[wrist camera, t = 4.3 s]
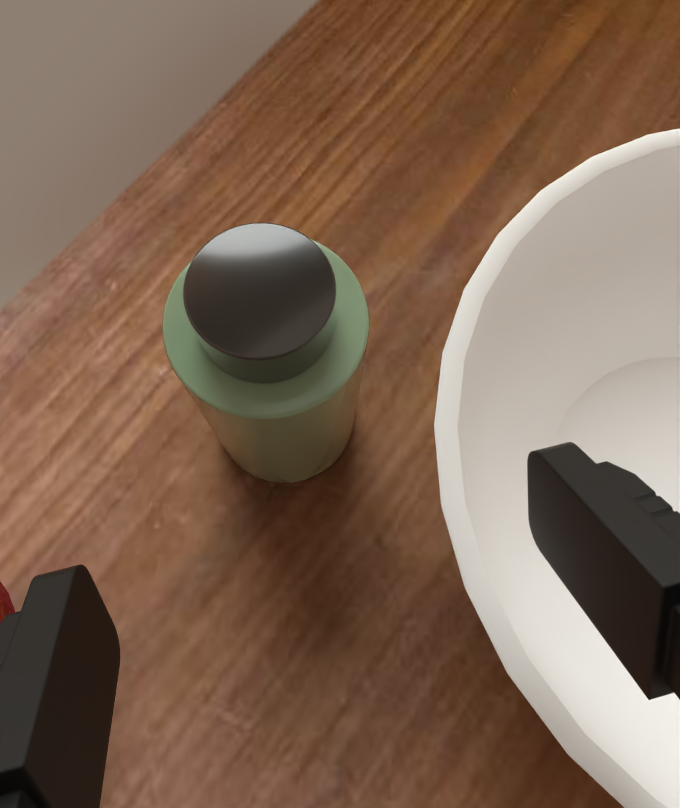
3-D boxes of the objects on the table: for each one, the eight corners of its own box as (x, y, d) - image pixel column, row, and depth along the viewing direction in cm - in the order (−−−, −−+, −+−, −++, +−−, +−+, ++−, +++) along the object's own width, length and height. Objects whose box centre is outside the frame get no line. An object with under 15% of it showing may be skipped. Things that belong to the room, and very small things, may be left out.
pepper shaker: (199, 461, 21) (107, 361, 12) (242, 338, 23) (189, 167, 14) (332, 499, 21) (340, 425, 12) (368, 372, 23) (398, 220, 14)
